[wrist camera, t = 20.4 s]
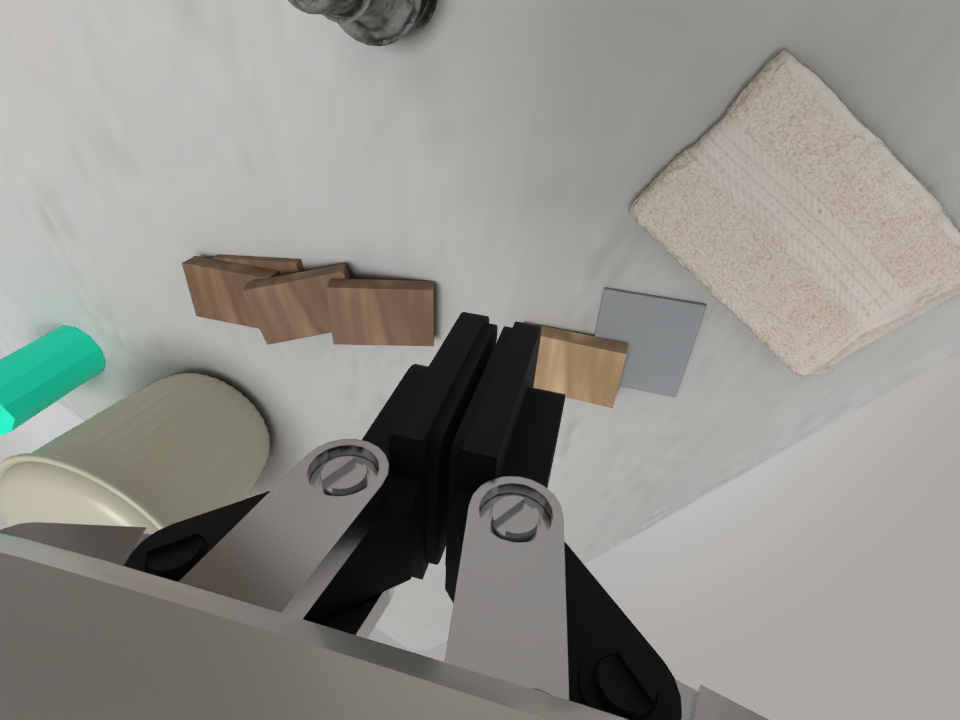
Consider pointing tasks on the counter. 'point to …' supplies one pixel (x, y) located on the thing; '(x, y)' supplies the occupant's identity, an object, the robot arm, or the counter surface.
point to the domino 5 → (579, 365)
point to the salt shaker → (373, 17)
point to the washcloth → (803, 222)
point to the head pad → (650, 337)
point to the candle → (45, 373)
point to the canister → (143, 460)
